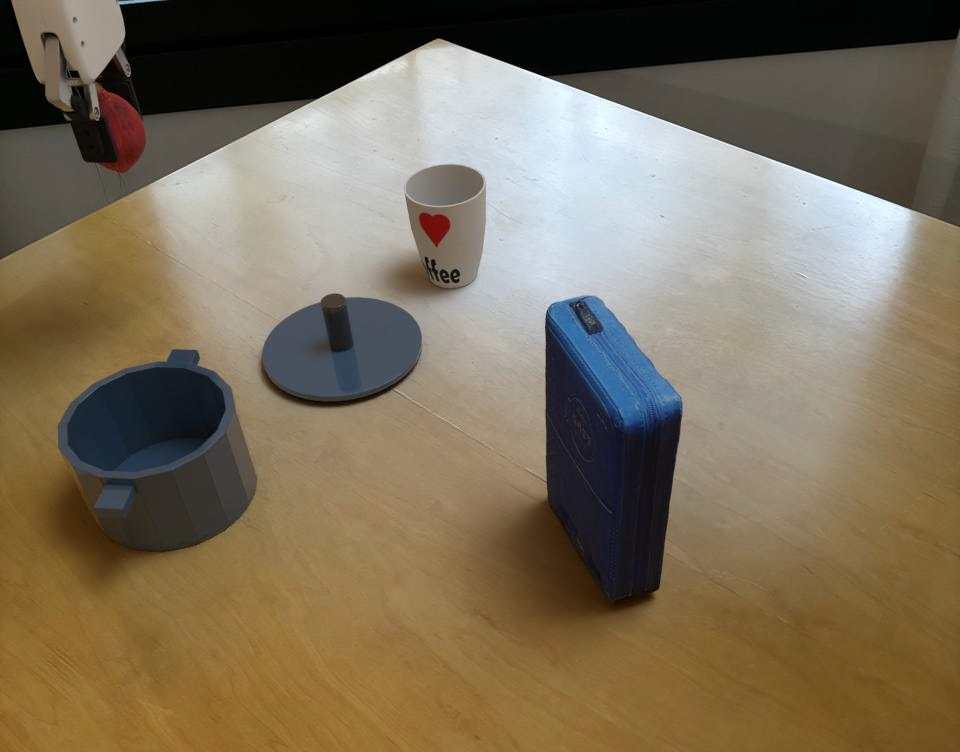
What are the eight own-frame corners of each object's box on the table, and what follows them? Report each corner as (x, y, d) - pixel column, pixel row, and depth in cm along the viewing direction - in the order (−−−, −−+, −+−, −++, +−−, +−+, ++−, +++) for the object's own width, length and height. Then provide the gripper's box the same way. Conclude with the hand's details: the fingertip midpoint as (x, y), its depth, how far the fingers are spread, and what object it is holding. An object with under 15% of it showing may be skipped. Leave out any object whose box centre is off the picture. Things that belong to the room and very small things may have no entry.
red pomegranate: (168, 165, 100) (143, 77, 93) (124, 194, 97) (95, 105, 91) (124, 150, 102) (97, 63, 96) (79, 178, 99) (48, 90, 93)
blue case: (536, 499, 92) (528, 297, 76) (593, 481, 93) (597, 277, 77) (608, 618, 83) (617, 418, 68) (670, 596, 84) (692, 394, 69)
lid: (246, 403, 103) (229, 350, 98) (286, 305, 112) (273, 251, 107) (408, 409, 100) (399, 354, 96) (434, 308, 110) (428, 254, 105)
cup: (400, 275, 114) (387, 186, 106) (457, 243, 117) (449, 154, 109) (449, 306, 110) (439, 216, 102) (507, 272, 113) (502, 182, 105)
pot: (57, 570, 91) (16, 497, 84) (135, 414, 103) (105, 340, 96) (222, 579, 89) (194, 506, 82) (282, 419, 101) (261, 344, 94)
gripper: (37, -125, 89) (107, 96, 103) (-53, -43, 78) (39, 191, 92) (123, -127, 88) (182, 97, 102) (44, -43, 77) (122, 193, 91)
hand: (114, 140), depth 97 cm, fingers closed on red pomegranate, 5 cm apart
